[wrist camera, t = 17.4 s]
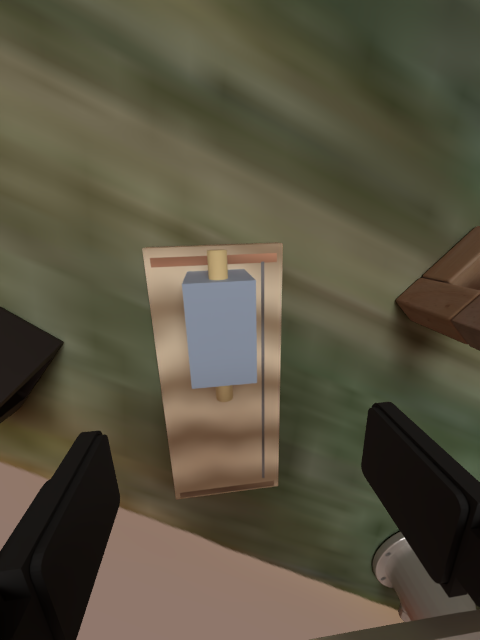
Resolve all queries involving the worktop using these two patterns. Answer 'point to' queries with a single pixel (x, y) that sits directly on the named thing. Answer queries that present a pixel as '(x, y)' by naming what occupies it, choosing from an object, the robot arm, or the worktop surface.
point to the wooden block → (449, 293)
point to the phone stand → (21, 360)
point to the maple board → (201, 404)
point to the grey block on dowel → (220, 326)
